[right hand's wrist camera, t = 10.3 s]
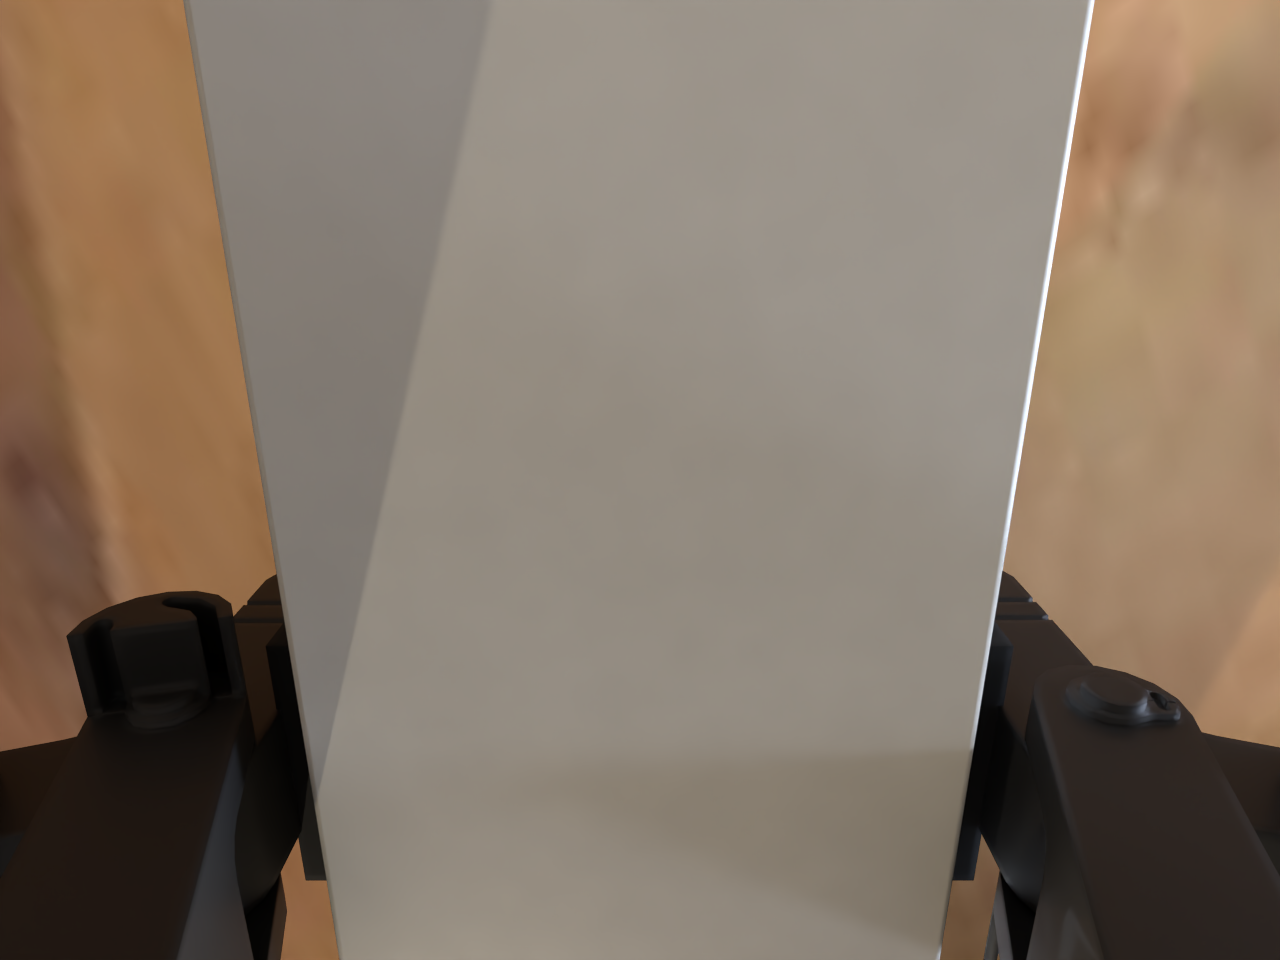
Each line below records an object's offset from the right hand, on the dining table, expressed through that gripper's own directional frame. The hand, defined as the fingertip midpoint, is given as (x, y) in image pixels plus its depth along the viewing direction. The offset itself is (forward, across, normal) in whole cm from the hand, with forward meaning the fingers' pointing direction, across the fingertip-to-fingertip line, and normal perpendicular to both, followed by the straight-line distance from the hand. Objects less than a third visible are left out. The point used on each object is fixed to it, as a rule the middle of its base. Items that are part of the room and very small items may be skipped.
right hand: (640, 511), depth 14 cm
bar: (+1, 0, -21) cm, 21 cm away
